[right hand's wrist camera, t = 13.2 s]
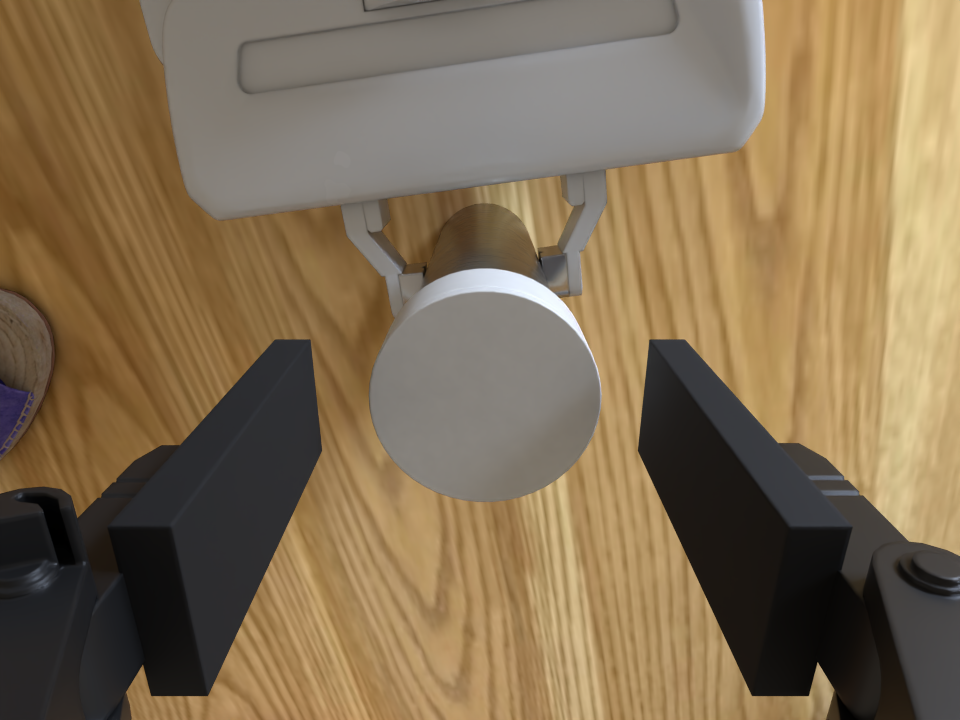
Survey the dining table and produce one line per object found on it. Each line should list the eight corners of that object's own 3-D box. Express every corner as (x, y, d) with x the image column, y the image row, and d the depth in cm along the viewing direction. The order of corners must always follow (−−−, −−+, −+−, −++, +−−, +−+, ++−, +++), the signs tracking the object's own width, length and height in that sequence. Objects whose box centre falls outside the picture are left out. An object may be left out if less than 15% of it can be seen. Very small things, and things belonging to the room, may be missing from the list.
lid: (544, 479, 17) (552, 527, 15) (360, 424, 17) (343, 467, 15) (618, 306, 16) (639, 334, 14) (416, 238, 15) (405, 257, 13)
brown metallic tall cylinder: (513, 308, 32) (542, 501, 16) (425, 280, 31) (364, 449, 15) (545, 221, 30) (613, 337, 14) (453, 189, 29) (418, 273, 14)
